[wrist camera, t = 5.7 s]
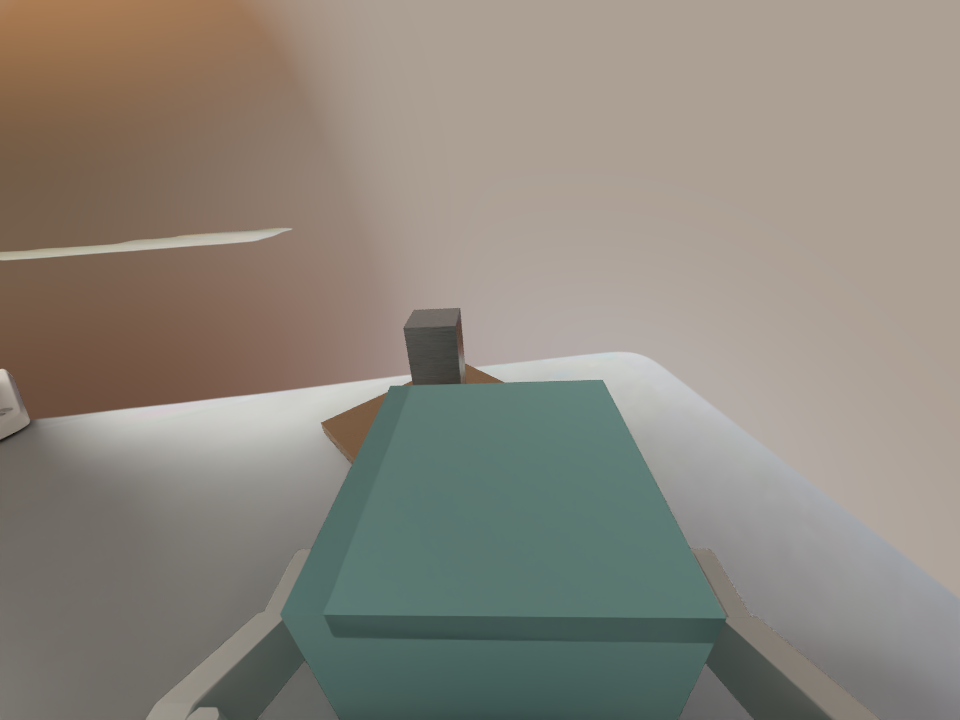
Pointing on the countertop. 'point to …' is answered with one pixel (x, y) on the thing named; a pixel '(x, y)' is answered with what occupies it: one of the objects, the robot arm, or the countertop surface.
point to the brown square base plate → (413, 373)
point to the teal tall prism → (502, 566)
